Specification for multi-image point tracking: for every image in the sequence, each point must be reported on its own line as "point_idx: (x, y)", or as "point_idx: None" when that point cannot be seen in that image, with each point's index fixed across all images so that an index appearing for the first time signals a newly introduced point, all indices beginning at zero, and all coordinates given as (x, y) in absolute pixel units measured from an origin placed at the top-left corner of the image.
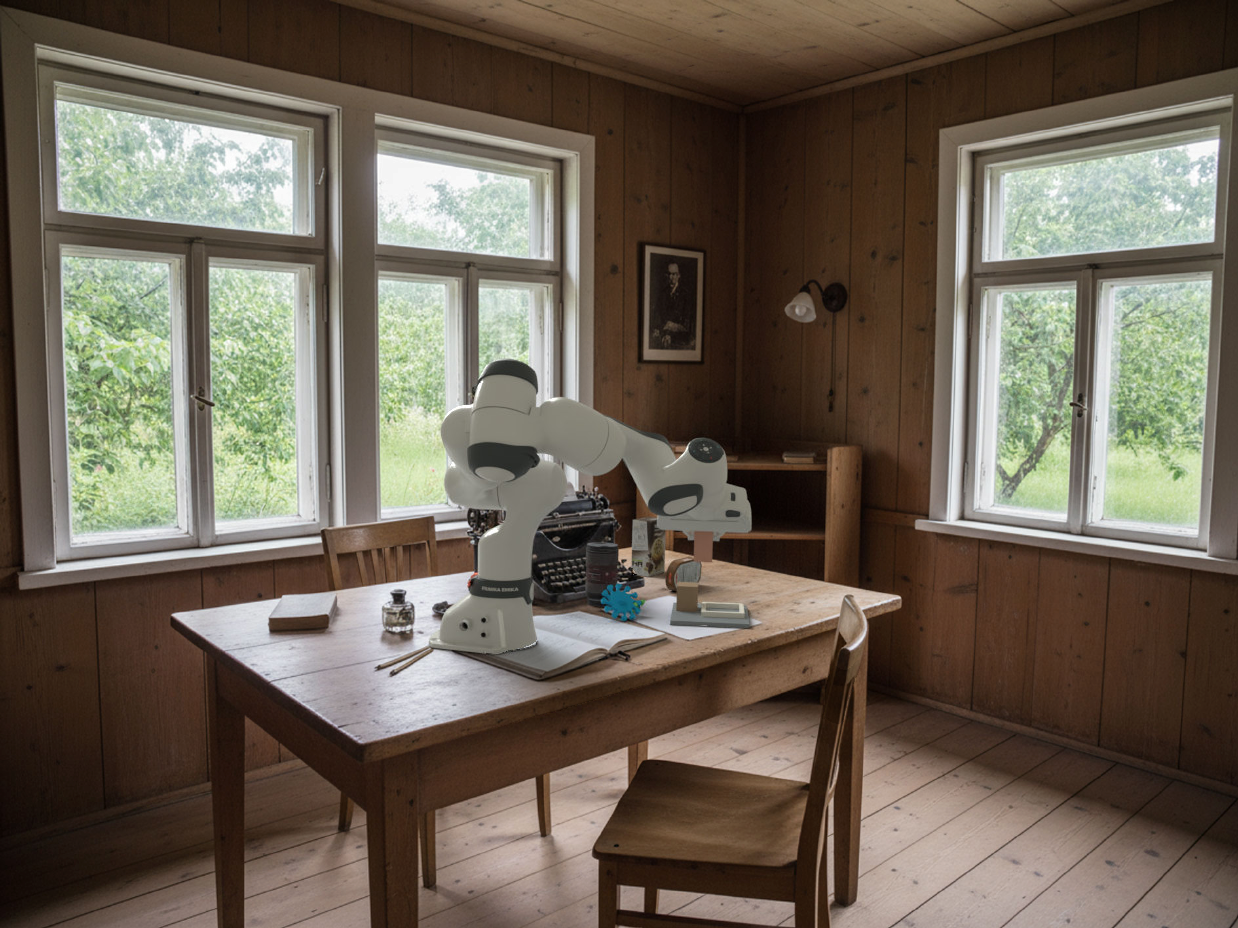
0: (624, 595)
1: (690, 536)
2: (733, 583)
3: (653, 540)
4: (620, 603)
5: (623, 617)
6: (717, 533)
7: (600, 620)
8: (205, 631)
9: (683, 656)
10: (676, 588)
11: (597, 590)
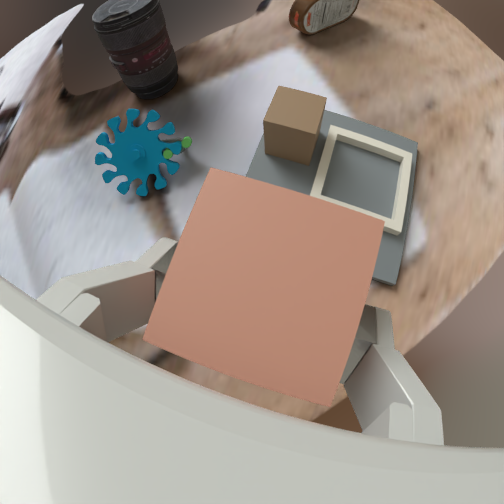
0: (142, 137)
1: None
2: (403, 23)
3: None
4: (132, 161)
5: (139, 192)
6: (360, 379)
7: (108, 185)
8: None
9: None
10: (308, 32)
11: (129, 83)
